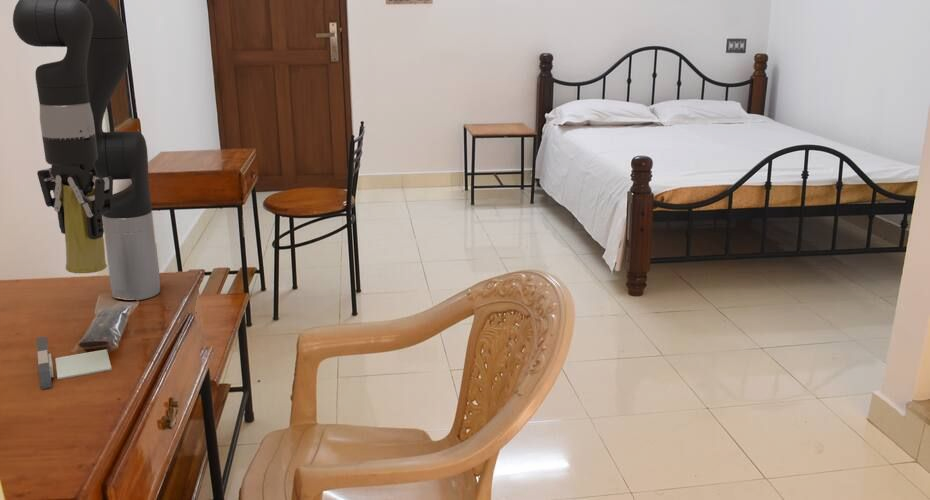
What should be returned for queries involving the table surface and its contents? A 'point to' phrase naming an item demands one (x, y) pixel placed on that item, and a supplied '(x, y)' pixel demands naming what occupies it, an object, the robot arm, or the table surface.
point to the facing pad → (82, 364)
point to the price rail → (44, 363)
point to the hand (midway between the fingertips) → (82, 235)
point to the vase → (80, 237)
